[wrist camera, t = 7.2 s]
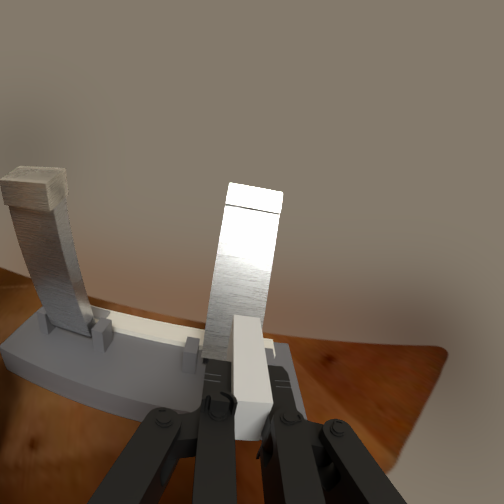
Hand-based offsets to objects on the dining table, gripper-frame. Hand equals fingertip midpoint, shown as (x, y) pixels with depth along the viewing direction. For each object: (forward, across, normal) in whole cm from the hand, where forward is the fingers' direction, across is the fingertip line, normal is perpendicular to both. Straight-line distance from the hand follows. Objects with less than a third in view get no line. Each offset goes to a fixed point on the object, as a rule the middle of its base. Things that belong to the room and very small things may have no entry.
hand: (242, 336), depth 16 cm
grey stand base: (+7, -8, -12) cm, 16 cm away
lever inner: (+7, -16, -8) cm, 19 cm away
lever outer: (+7, 0, -8) cm, 10 cm away
